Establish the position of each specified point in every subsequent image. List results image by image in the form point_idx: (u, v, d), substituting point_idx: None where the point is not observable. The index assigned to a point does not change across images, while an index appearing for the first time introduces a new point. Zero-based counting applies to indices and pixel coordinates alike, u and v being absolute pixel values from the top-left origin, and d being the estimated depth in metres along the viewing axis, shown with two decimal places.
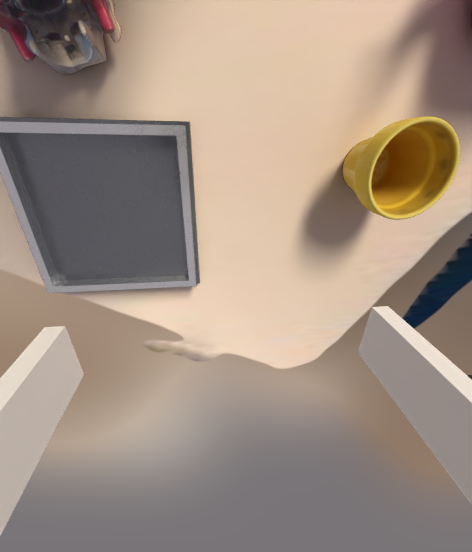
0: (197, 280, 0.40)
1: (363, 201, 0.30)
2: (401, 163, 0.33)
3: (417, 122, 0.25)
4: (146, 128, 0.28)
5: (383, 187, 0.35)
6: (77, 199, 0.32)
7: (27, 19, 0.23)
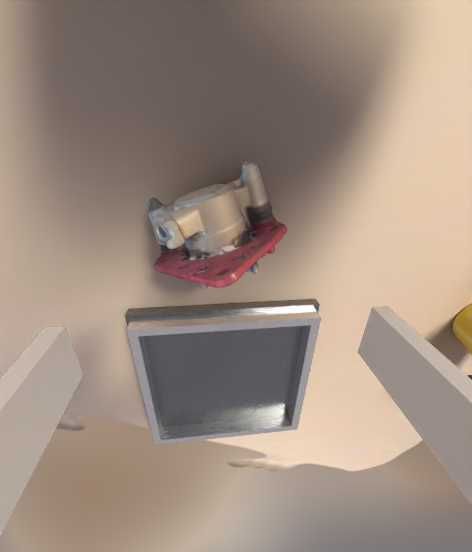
0: None
1: None
2: None
3: None
4: (284, 322, 0.28)
5: None
6: (196, 367, 0.32)
7: None
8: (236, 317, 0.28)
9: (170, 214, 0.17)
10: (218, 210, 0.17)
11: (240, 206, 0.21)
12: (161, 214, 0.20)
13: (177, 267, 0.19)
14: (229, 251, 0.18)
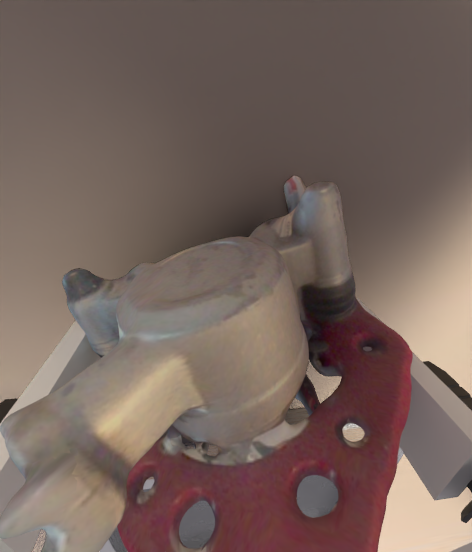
0: None
1: None
2: None
3: None
4: None
5: None
6: None
7: None
8: None
9: (75, 392, 0.04)
10: (250, 350, 0.05)
11: None
12: (98, 308, 0.08)
13: (126, 480, 0.07)
14: (276, 448, 0.06)
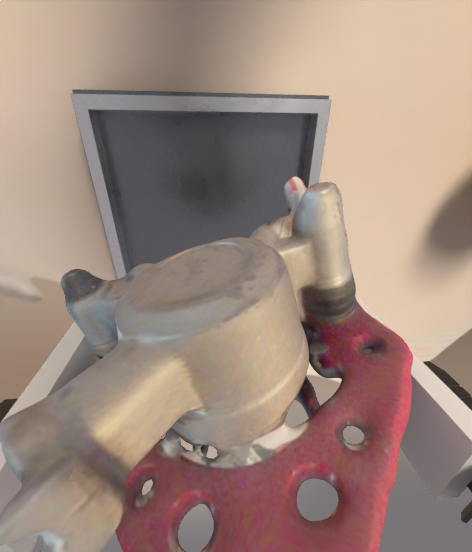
0: None
1: None
2: None
3: None
4: (283, 103, 0.21)
5: None
6: (172, 198, 0.25)
7: None
8: None
9: (73, 395, 0.04)
10: (250, 352, 0.05)
11: None
12: (96, 308, 0.08)
13: (125, 483, 0.07)
14: (276, 451, 0.06)
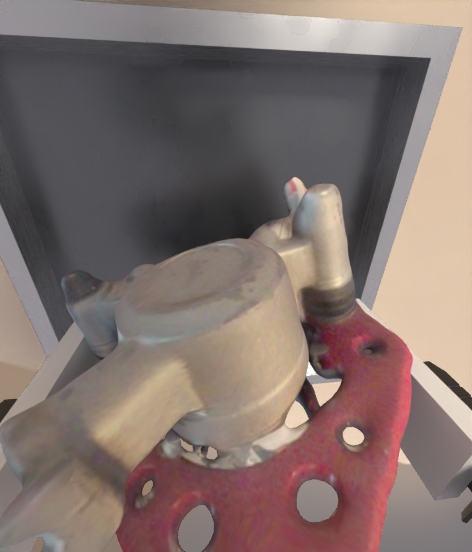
0: None
1: None
2: None
3: None
4: (364, 32, 0.10)
5: None
6: (141, 222, 0.14)
7: None
8: None
9: (73, 396, 0.04)
10: (250, 354, 0.05)
11: None
12: (97, 309, 0.08)
13: None
14: (276, 452, 0.06)
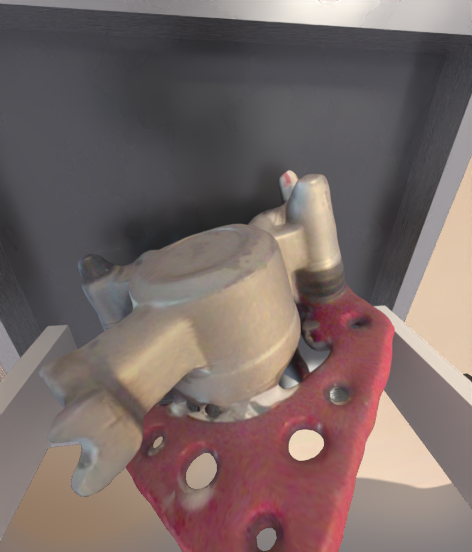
0: None
1: None
2: None
3: None
4: (411, 1, 0.08)
5: None
6: (129, 238, 0.12)
7: None
8: None
9: (100, 346, 0.05)
10: (247, 316, 0.06)
11: None
12: (110, 289, 0.09)
13: None
14: (271, 407, 0.07)
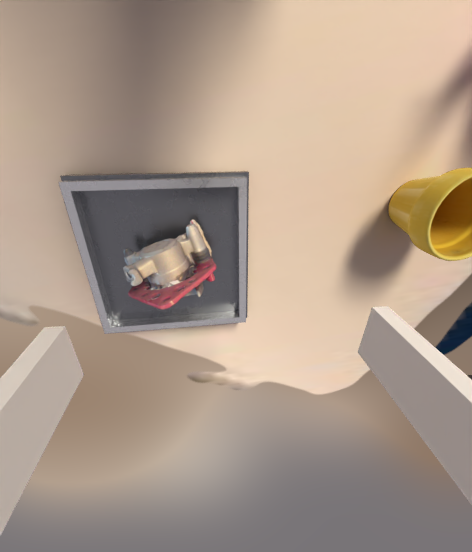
0: None
1: (418, 243, 0.31)
2: (448, 202, 0.34)
3: None
4: (211, 181, 0.29)
5: None
6: (137, 245, 0.33)
7: None
8: (166, 178, 0.29)
9: (134, 263, 0.27)
10: (166, 259, 0.28)
11: (186, 252, 0.31)
12: (132, 258, 0.31)
13: (141, 295, 0.29)
14: (174, 284, 0.28)
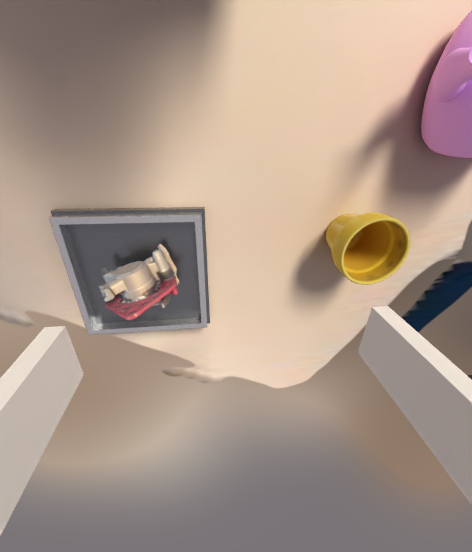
0: (208, 321, 0.48)
1: (339, 270, 0.38)
2: (371, 234, 0.42)
3: (375, 221, 0.33)
4: (172, 217, 0.37)
5: (358, 251, 0.43)
6: (115, 264, 0.41)
7: None
8: (136, 214, 0.37)
9: (108, 283, 0.34)
10: (133, 280, 0.35)
11: (153, 272, 0.38)
12: (109, 276, 0.38)
13: (115, 306, 0.36)
14: (141, 299, 0.36)
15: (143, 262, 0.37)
